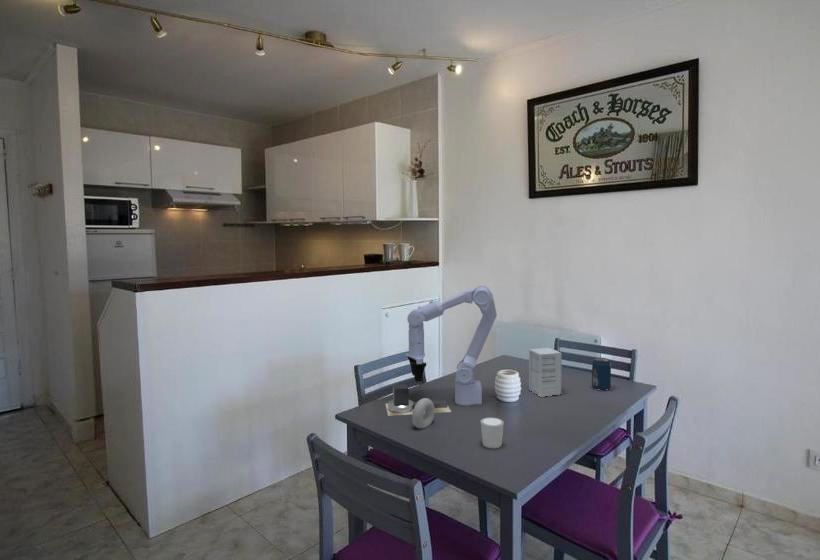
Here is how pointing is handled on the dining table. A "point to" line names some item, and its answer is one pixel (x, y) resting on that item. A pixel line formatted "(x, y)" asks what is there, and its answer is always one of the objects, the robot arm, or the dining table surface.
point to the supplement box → (545, 371)
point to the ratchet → (412, 404)
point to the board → (437, 410)
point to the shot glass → (492, 432)
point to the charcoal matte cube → (400, 394)
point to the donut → (429, 413)
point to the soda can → (601, 373)
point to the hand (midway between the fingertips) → (416, 378)
